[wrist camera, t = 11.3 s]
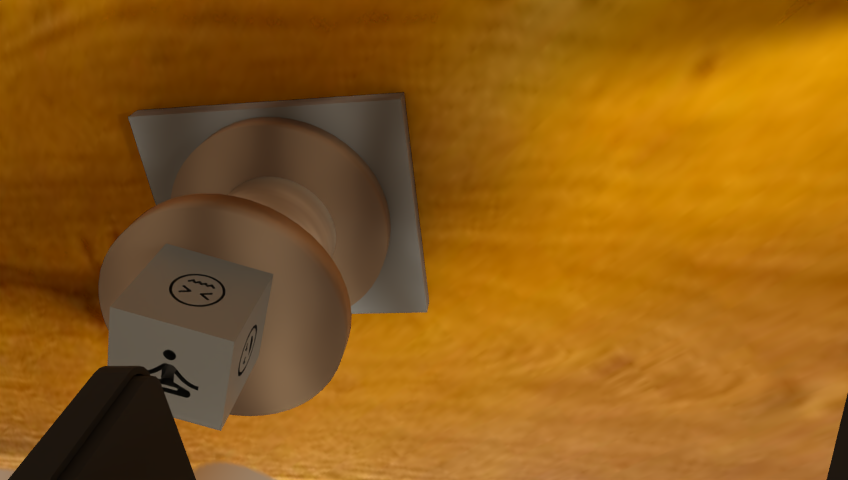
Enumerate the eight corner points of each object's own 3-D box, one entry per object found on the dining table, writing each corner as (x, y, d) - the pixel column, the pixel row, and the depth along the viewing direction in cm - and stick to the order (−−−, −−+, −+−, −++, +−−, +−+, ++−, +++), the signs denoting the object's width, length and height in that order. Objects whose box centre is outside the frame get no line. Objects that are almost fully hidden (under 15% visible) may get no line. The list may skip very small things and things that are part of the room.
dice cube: (159, 328, 34) (106, 399, 30) (165, 243, 31) (109, 306, 27) (258, 356, 34) (220, 430, 30) (273, 274, 31) (234, 341, 27)
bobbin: (403, 92, 39) (363, 178, 29) (429, 301, 45) (403, 431, 35) (137, 110, 41) (13, 195, 31) (198, 306, 48) (112, 429, 38)
